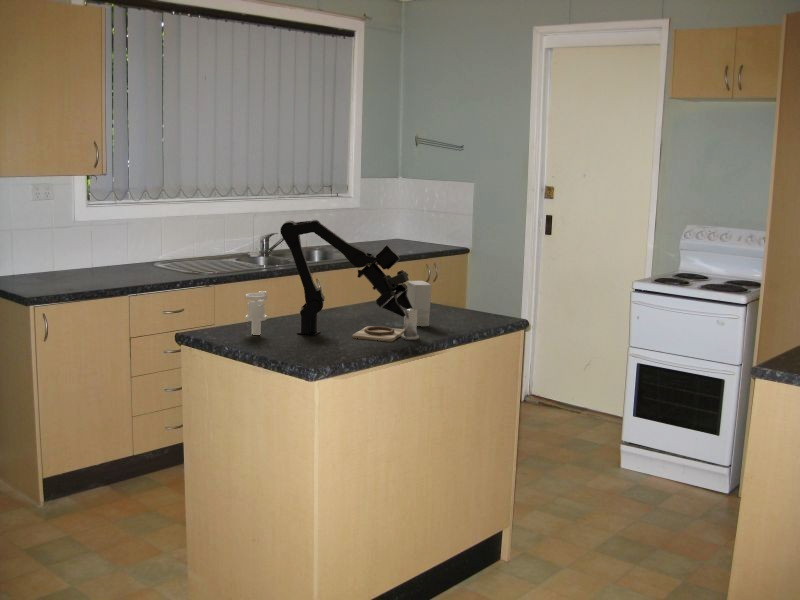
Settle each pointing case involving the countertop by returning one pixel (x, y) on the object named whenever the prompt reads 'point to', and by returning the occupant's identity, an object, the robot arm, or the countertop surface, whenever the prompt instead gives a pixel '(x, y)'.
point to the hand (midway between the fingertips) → (408, 313)
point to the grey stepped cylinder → (256, 310)
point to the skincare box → (420, 300)
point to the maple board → (378, 333)
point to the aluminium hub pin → (410, 324)
